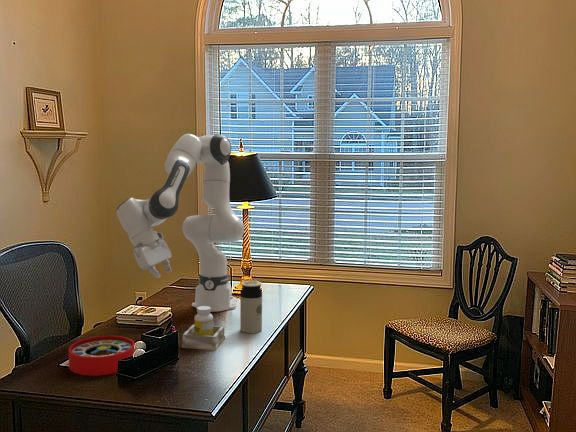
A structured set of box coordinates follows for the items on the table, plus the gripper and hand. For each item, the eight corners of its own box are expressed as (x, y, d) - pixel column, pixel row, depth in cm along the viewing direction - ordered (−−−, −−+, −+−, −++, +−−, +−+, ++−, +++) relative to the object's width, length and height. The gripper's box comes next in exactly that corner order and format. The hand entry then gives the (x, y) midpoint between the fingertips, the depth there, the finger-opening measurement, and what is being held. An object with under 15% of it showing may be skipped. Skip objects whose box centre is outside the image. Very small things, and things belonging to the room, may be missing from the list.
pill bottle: (195, 337, 211) (194, 305, 210) (213, 336, 212) (213, 305, 210) (193, 343, 205) (193, 310, 203) (212, 343, 205) (212, 310, 204)
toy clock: (101, 332, 202) (148, 341, 193) (101, 348, 202) (148, 359, 194) (54, 350, 184) (103, 362, 175) (54, 368, 184) (104, 381, 176)
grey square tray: (192, 336, 215) (192, 324, 215) (225, 338, 213) (225, 326, 213) (181, 347, 204) (181, 334, 203) (215, 350, 202) (215, 337, 201)
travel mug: (235, 330, 223) (236, 282, 221) (251, 325, 229) (251, 279, 226) (250, 335, 218) (251, 286, 215) (266, 330, 223) (266, 283, 221)
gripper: (139, 241, 203) (159, 277, 203) (163, 232, 223) (182, 265, 223) (124, 250, 205) (144, 285, 205) (150, 240, 224) (168, 273, 224)
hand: (164, 274), depth 214 cm, fingers open, 8 cm apart
